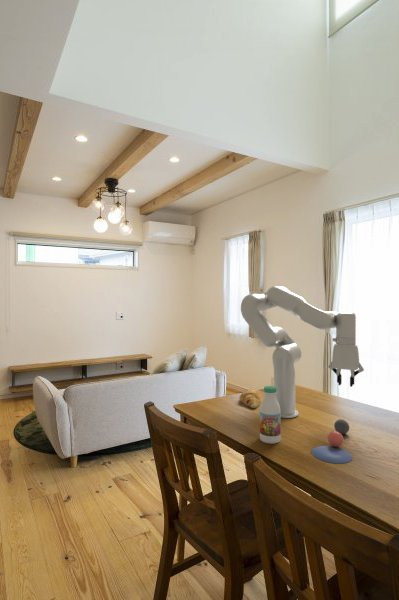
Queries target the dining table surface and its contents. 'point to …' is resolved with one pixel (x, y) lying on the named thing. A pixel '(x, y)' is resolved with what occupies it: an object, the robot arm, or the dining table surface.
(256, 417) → the dining table surface
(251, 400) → the croissant
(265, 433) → the milk bottle
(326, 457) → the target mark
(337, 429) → the dark grey ball
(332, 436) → the red ball
